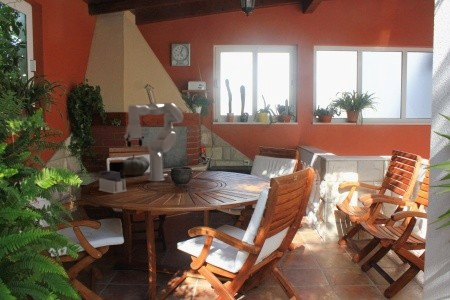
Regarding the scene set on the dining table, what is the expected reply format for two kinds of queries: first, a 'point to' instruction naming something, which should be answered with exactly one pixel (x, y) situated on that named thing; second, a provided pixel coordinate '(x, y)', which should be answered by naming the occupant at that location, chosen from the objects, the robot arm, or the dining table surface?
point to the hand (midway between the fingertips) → (134, 146)
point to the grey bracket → (111, 175)
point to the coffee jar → (117, 167)
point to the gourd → (135, 165)
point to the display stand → (112, 186)
